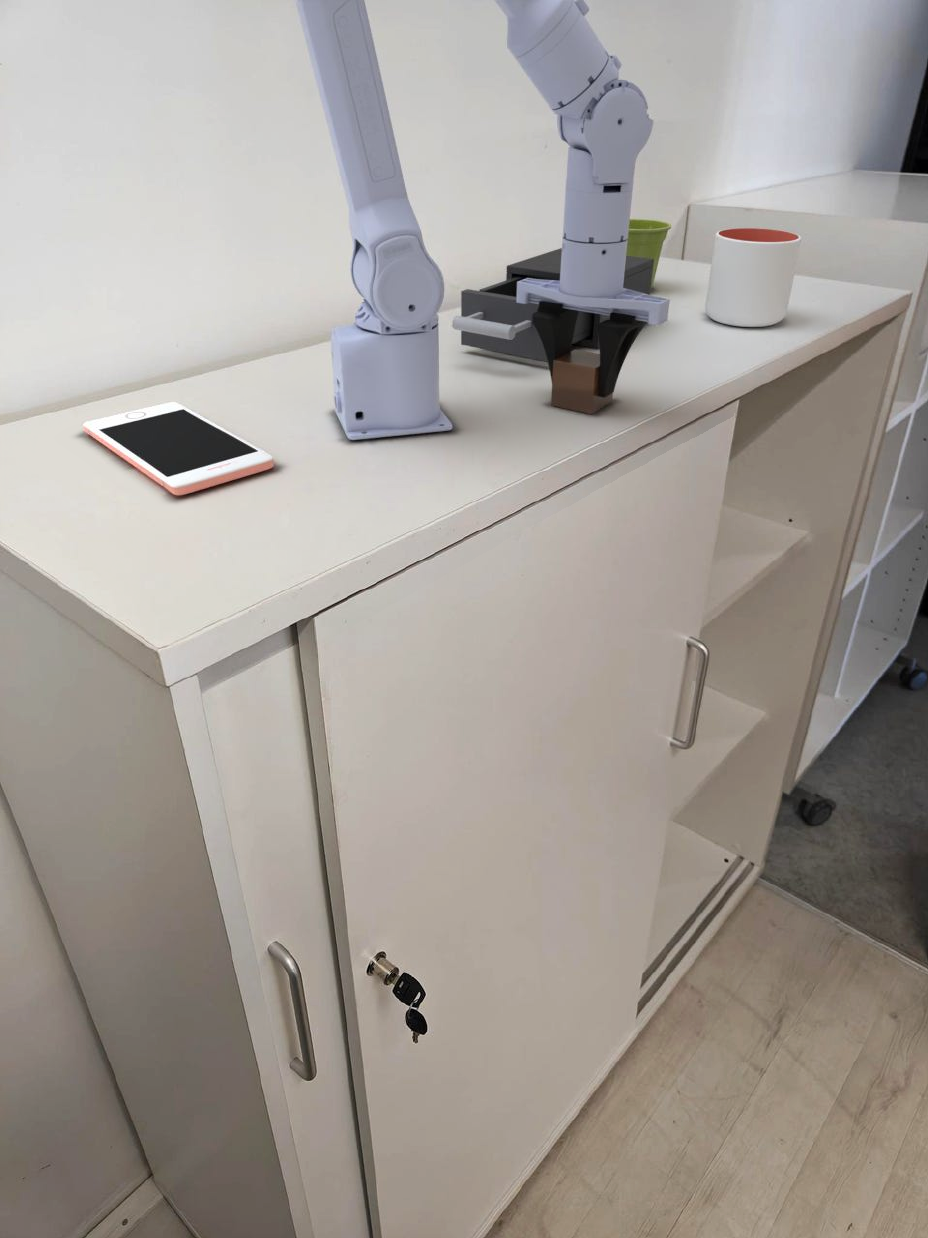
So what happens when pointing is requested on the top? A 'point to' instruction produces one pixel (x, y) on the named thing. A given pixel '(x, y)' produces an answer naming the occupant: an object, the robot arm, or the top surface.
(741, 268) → the cup
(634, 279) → the cabinet
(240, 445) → the cell phone
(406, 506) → the top surface
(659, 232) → the plant pot
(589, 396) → the block
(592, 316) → the drawer
